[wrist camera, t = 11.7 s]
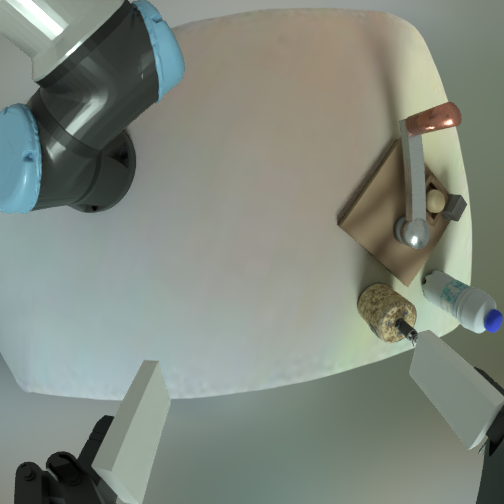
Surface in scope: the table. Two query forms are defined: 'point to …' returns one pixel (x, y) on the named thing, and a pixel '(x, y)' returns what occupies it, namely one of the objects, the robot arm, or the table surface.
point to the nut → (435, 201)
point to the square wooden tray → (396, 217)
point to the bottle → (462, 302)
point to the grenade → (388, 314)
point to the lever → (420, 168)
